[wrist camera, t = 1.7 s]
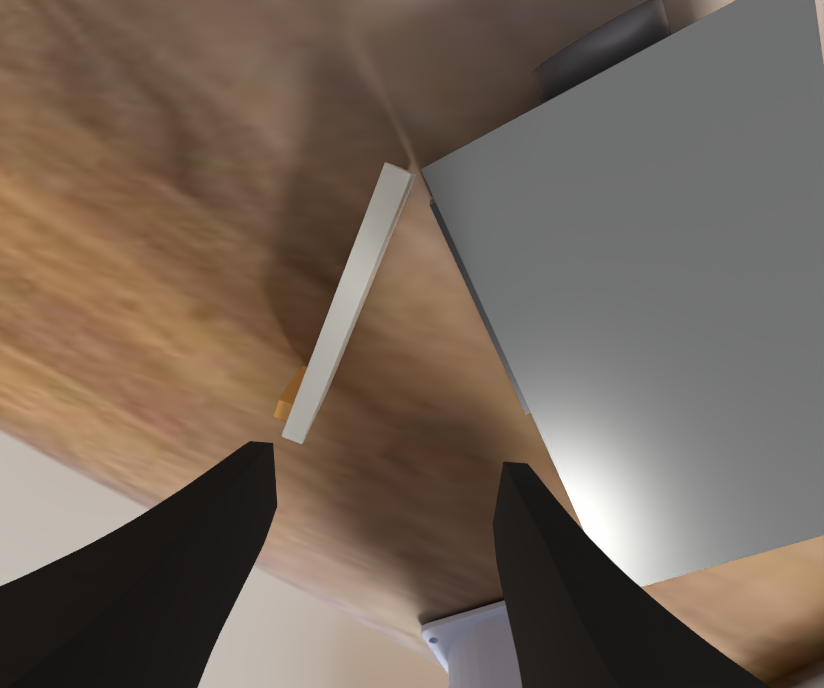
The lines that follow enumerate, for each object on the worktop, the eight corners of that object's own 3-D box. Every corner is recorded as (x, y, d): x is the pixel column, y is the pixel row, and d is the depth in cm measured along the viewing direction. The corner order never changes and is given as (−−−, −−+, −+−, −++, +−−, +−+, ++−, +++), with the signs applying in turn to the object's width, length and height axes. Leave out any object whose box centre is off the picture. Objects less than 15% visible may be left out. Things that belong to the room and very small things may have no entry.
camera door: (327, 392, 19) (302, 444, 16) (298, 380, 19) (265, 430, 15) (416, 174, 16) (410, 174, 12) (381, 158, 16) (365, 152, 12)
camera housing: (789, 444, 20) (886, 517, 15) (574, 515, 22) (608, 595, 17) (689, -8, 14) (802, -90, 10) (407, 147, 16) (397, 137, 12)
